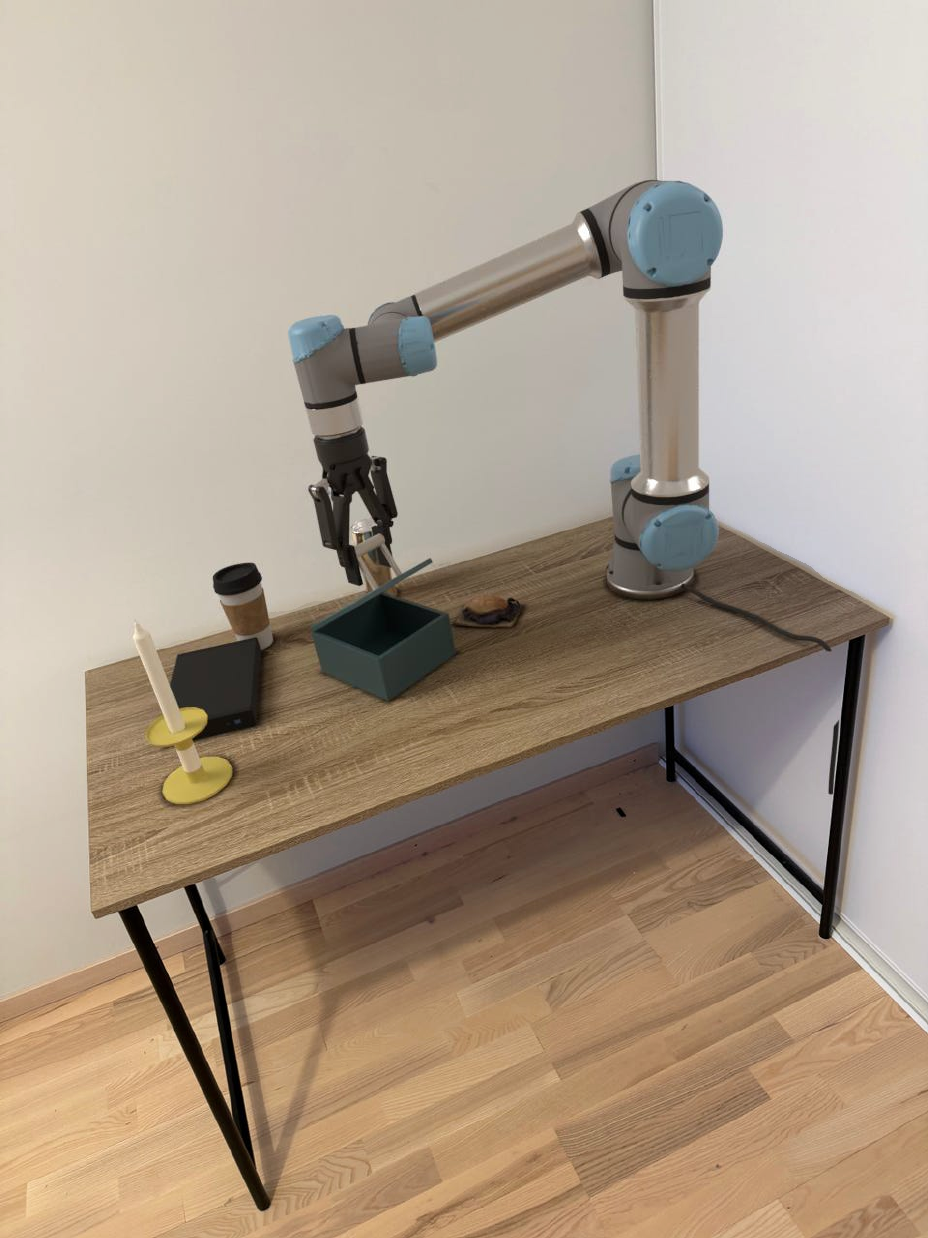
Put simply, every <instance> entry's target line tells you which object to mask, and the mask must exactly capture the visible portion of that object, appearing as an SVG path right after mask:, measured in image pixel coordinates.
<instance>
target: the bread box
mask: <svg viewBox="0 0 928 1238" xmlns="http://www.w3.org/2000/svg"><path fill="white" fill-rule="evenodd" d="M310 632H311V633H310V634H311V637H312V640H313V644H314V648H315V652H316V656H317V658H318V662H319V666H320V670H321V672H322V673H324V674H326V675H328V676H331V677H332V678H335V679H336V680H340V681H342V682H344V683H346V684H348V685H351V686H353V687H354V688H357V689H359V690H362V691H365V692H366V693H367V694H371V695H373V696H375V697H377V698H379V699H381V700H384V701H386V702H390V701H391V700H393V699H395V698H396V697H397V696H398V695H400V694H402V693H403V692H404V691H405V690H407V689H409V688H410V687H412V686H413V685H414V684H415V683H417V682H419V681H420V680H421V679H423V678H424V677H425V676H427V675H428V674H430V673H431V672H432V671H434V670H436V669H437V668H438V667H439V666H441V665H442V664H444V663H445V662H446V661H448V660H449V659H451V658H452V657H454V656H455V655H457V654H456V653H457V652H456V646H455V641H454V636H453V630H452V624H451V620H450V613H448V612H445V611H442V610H439V609H436V608H433V607H430V606H427V605H424V604H421V603H418V602H415V601H412V600H409V599H406V598H402V597H400V596H398V595H397V596H394V595H390V594H387V593H384V592H382V593H380V594H379V595H377V596H375V597H374V598H372V599H370V600H369V601H367V602H365V603H364V604H362V605H360V606H359V607H357V608H355V609H353V610H351V611H349V612H348V613H346V614H344V615H342V616H340V617H338V618H336V619H335V620H333V621H331V622H329V623H327V624H325V625H324V626H322V627H320V628H318V629H316V630H314V631H313V632H312V631H310Z"/></svg>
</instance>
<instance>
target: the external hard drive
mask: <svg viewBox="0 0 928 1238" xmlns="http://www.w3.org/2000/svg"><path fill="white" fill-rule="evenodd" d="M261 660H262V650H261V648H260V645H259V642H258V638H256V637H255V638H250V639H246V640H241V641H238V640H237V641H233V642H228V643H223V644H219V645H214V646H209V647H206V648H201V649H195V650H191V651H186V652H182V653H178V654H177V655H176V658H175V663H174V667H173V670H172V675H171V679H170V682H169V685H170V687H171V690H172V692H173V695H174V697H175V700H176V703H177V705H178V708H179V709H181V708H185V707H196V708H199V709H202V710H204V711H205V713H206V714H207V715H208V719H207V724H206V726H205V727H204V729H203V730H202V731H201V732H200V733H199V734H197V735H196V736H195V737H194V738H192V740H193V741H194V740H199V739H203V738H209V737H212V736H216V735H221V734H225V733H231V732H235V731H238V730H243V729H248V728H252V727H256V726H257V723H258V722H257V721H258V706H259V691H260V690H259V689H260V676H261V674H260V673H261Z"/></svg>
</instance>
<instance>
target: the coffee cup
mask: <svg viewBox="0 0 928 1238" xmlns="http://www.w3.org/2000/svg"><path fill="white" fill-rule="evenodd" d="M262 580H263V576H262V574H261V572H260V571H259V569H258V567H257V564H256V563H254V562H240V563H234V564H231V565H227V566H225V567H223V568H221V569H219V570H218V571H216V572H215V573H214V574H213V575H212V583H213V584H212V588H213V591H214V593H215V594H216V595H218V598H219V602H220V605H221V607H222V609H223V611H224V613H225V615H226V616H225V617H226V618H227V621H228V622H229V625H230V627H231V629H232V631H233V633H234V635H235V638H236V640H237V641H241V640H246V639H250V638H255V637H256V638H258V642H259V645H260V648H261V651H263V650H265V649H267V648H268V647H270V646H271V645H272V644H273V642H274V637H273V632H272V627H271V621H270V618H269V617H270V616H269V612H268V606H267V602H266V595H265V591H264V588H263V586H262Z"/></svg>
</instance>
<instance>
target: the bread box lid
mask: <svg viewBox="0 0 928 1238" xmlns="http://www.w3.org/2000/svg"><path fill="white" fill-rule="evenodd" d="M384 543H385V538H384V536H383V535H382V534H380V533H379V534H377V535H375V536H373V537H371V538H369V539H367V540H365V541H364V542H362V543H360V544H358V545H356V546H354V548H355V552H356V556H357V560H358V564H359V567H360V568H361V570H362V572H363V574H364V575H365V577H366V579H367V580H368V582H369V584H370V585H371V587H372V589H373V590H372V591H371V592H369V593H367V594H366V593H365V594H363V595H362V596H361V597H358V598H356V599H355V600H354V601H352V602H350V603H349V604H347V605H345V606H344V607H342V608H340V609H338V610H337V611H335V612H333V613H332V614H330V615H328V616H327V617H325V618H323V619H322V620H320V621H317V622H316V623H314V624H313V625H311V626H310V627H309V630H310V632H313V631H314V630H316V629H318V628H320V627H322V626H324V625H325V624H327V623H329V622H331V621H333V620H335V619H336V618H338V617H340V616H342V615H344V614H346V613H348V612H349V611H351V610H353V609H355V608H357V607H359V606H360V605H362V604H364V603H365V602H367V601H369V600H370V599H372V598H374V597H375V596H377V595H379V594H380V593H382V592H384V591H386V590H387V589H389V588H391V587H392V586H394V585H395V586H396V585H397V584H399V583H401V582H402V581H404V580H405V579H407V578H409V577H411V576H413V575H414V574H416V573H418V572H419V571H421V570H423V569H424V568H427V566H429V565H431V564H433V563H434V562H433V560H432V558H431V557H429V558H427V559H425V560H423V561H422V562H421V563H418V564H417V565H415V566H413V567H411V568H410V569H408V570H405V571H404V572H402V571H401V569H400V567H399V565H398V564H397V562H396V561H395V559H394V556H393V554H392V555H391V554H390V552H389V550H388V549H387V547H386V545H385V544H384ZM377 547H380V549H381V550H382V552H383V554H384V555H385V557H386V559H387V561H388V562H389V564H390V566H391V567H392V568H391V570H392V572H394V574H395V575H396V576H395V577H392V578H393V579H392V580H390V581H388V582H386V583H385V584H383V585H381V586H379V587H378V585H377V584H376V582H375V580H374V579H373V577H372V575H371V573H370V572H369V570H368V568H367V567H366V565H365V563H364V562H363V560H362V558H361V556H363V555H365V554H366V553H368V552H370V551H372V550H374V549H375V548H377ZM392 556H393V557H392Z"/></svg>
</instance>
